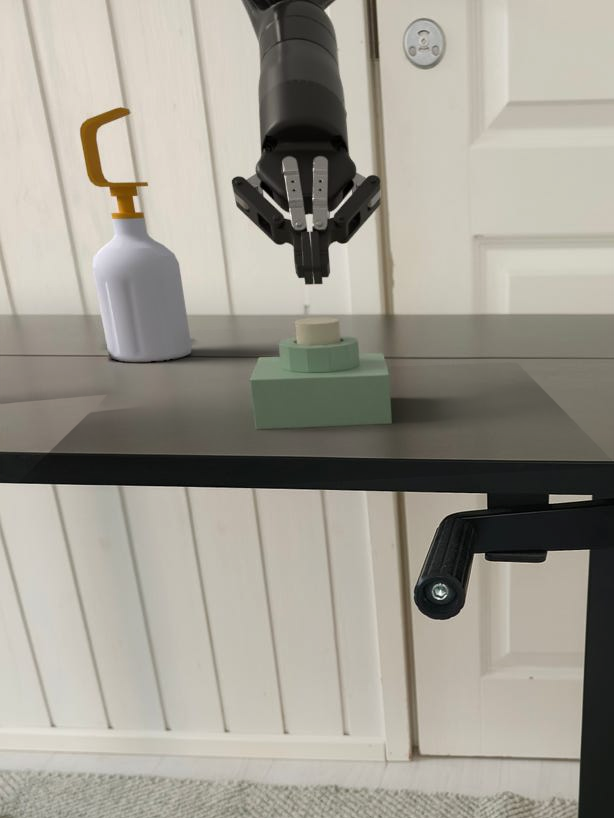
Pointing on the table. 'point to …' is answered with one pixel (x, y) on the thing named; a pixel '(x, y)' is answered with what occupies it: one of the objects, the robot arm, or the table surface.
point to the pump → (317, 331)
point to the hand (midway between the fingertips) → (313, 277)
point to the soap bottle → (135, 273)
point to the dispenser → (320, 386)
